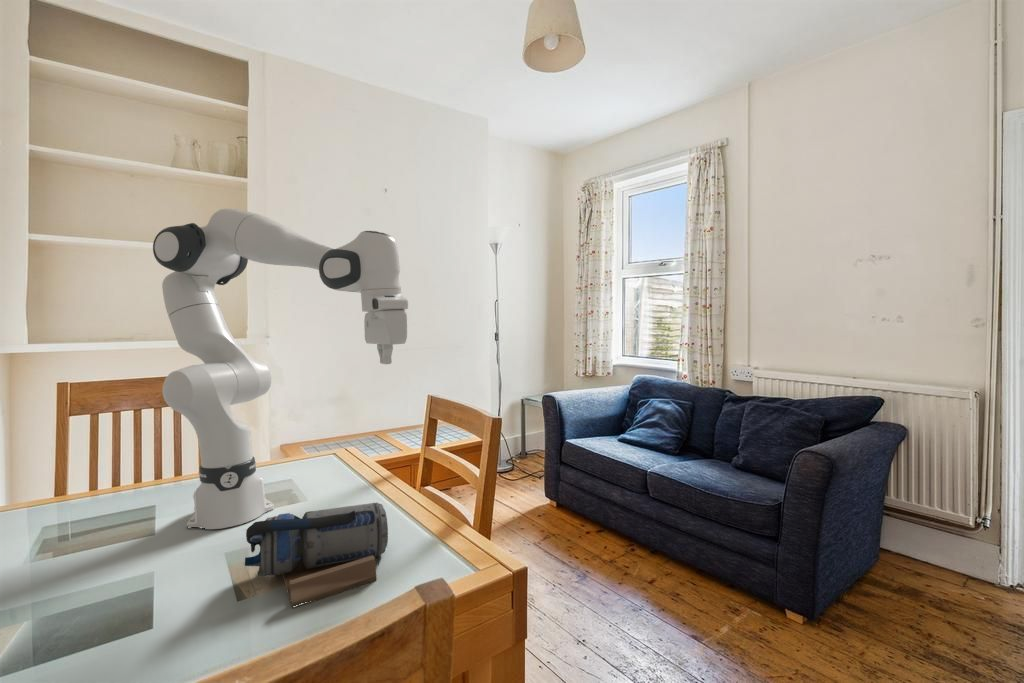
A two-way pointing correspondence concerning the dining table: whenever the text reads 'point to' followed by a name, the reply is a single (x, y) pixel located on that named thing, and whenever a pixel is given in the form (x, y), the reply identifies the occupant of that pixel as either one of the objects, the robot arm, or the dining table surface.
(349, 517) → the beverage bottle
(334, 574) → the walnut cradle
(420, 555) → the dining table surface
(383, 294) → the robot arm
